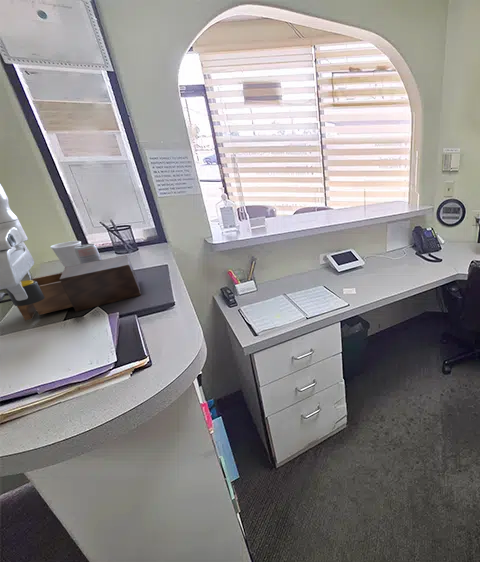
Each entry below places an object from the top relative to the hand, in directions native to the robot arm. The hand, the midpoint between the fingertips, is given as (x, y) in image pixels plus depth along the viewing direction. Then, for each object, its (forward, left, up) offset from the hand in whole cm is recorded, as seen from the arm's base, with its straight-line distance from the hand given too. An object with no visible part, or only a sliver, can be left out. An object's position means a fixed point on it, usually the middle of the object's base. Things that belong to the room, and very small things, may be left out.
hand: (26, 294), depth 71 cm
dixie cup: (+2, +54, -10) cm, 55 cm away
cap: (0, 0, -2) cm, 2 cm away
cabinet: (+12, +13, -9) cm, 20 cm away
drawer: (0, +13, -8) cm, 15 cm away
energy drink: (+9, +33, -10) cm, 36 cm away
